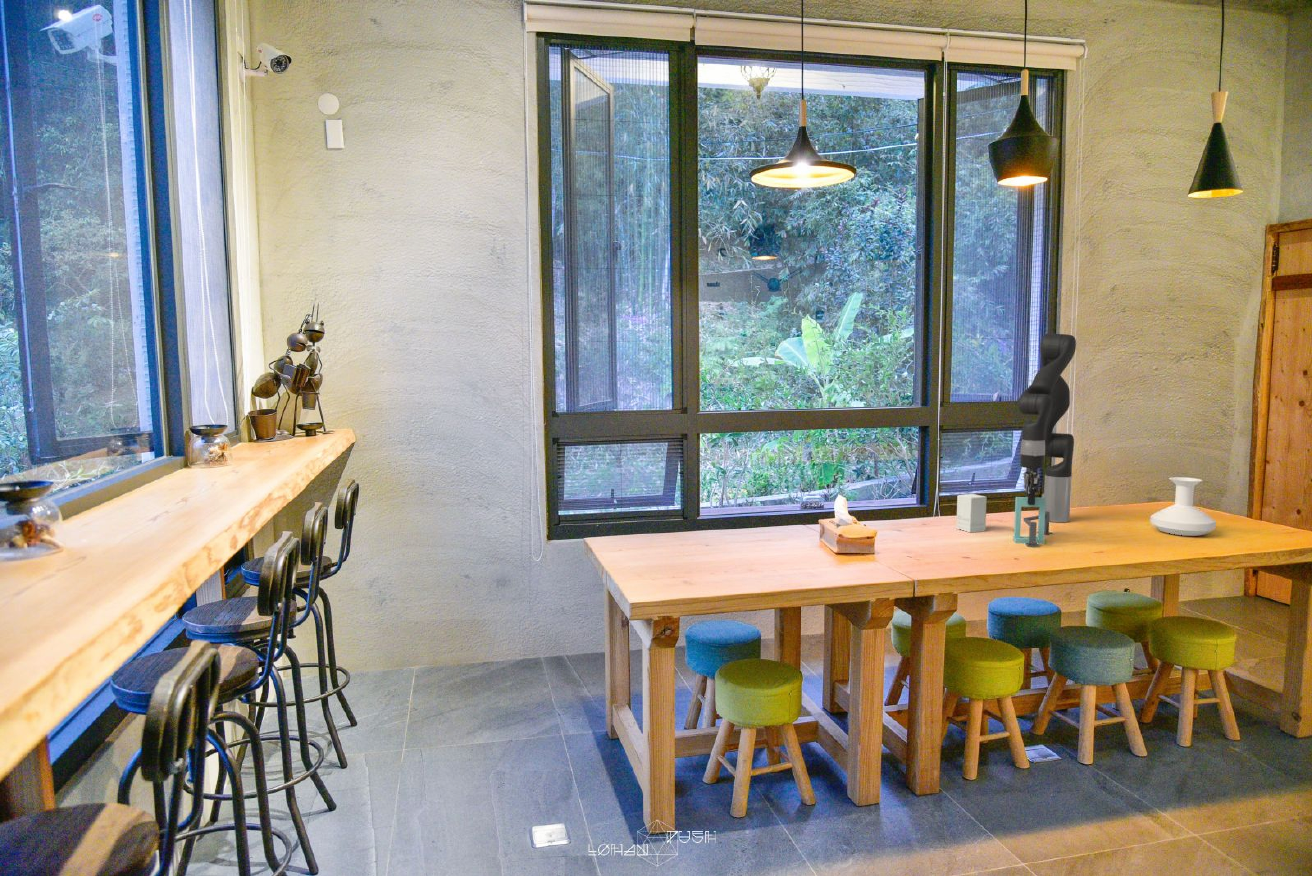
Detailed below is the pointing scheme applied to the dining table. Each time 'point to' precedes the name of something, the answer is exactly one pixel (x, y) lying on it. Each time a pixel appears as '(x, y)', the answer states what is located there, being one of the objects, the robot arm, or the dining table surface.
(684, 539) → the dining table surface
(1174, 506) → the candle holder
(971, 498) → the supplement box
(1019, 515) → the teal frame
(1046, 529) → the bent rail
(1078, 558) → the dining table surface
